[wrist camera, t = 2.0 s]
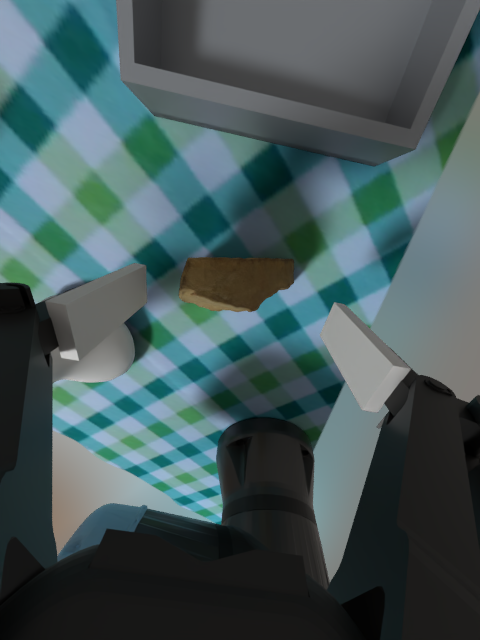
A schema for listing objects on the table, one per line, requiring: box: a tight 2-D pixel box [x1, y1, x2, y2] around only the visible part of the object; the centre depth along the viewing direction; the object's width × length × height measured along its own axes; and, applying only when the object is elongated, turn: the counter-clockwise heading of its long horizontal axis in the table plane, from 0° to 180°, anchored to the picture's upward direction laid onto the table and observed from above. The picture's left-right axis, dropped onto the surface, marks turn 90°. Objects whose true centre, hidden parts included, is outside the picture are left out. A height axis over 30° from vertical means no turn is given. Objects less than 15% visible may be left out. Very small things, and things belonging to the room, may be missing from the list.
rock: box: [179, 257, 294, 312], centre depth 18 cm, size 11×9×10 cm
